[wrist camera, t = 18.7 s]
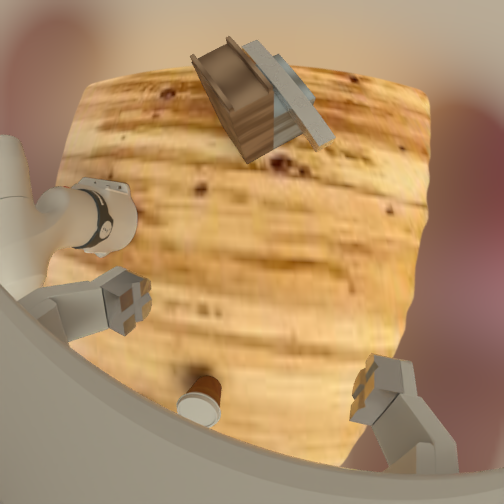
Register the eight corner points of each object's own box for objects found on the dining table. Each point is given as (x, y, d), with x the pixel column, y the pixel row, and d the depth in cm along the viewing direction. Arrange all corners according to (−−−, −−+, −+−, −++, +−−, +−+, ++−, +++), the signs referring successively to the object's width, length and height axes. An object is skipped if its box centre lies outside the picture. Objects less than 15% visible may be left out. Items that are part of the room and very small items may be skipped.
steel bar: (331, 143, 40) (335, 137, 37) (316, 152, 40) (319, 146, 37) (257, 49, 39) (257, 39, 36) (243, 55, 40) (241, 46, 37)
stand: (304, 132, 56) (325, 63, 29) (247, 164, 58) (227, 109, 30) (277, 95, 56) (279, 16, 29) (222, 125, 57) (188, 56, 30)
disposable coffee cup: (236, 387, 61) (229, 415, 49) (211, 408, 62) (201, 436, 50) (205, 362, 61) (192, 387, 49) (182, 384, 62) (166, 410, 50)
